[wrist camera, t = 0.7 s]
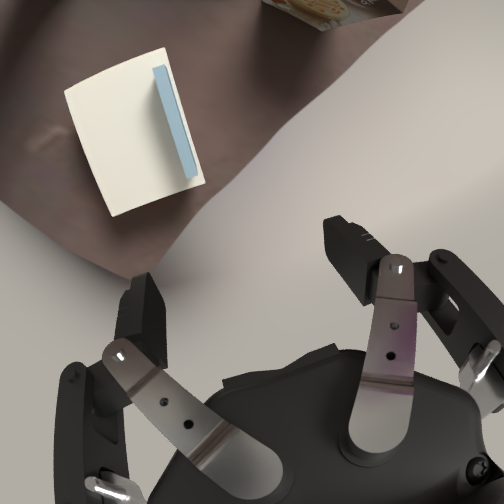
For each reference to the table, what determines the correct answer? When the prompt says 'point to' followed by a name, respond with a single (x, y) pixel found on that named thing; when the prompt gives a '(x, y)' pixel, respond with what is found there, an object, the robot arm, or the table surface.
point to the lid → (135, 132)
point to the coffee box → (338, 10)
